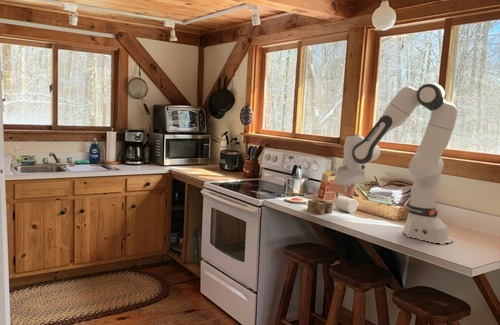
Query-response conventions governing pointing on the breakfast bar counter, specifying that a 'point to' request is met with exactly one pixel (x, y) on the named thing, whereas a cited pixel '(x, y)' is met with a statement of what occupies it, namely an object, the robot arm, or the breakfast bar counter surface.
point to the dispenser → (319, 206)
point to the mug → (346, 204)
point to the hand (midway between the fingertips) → (348, 192)
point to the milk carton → (326, 186)
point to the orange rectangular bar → (340, 189)
